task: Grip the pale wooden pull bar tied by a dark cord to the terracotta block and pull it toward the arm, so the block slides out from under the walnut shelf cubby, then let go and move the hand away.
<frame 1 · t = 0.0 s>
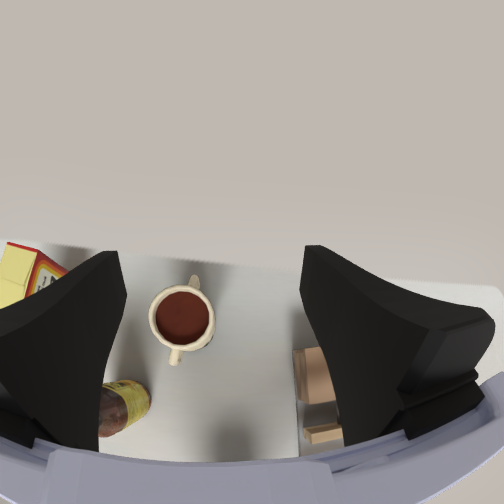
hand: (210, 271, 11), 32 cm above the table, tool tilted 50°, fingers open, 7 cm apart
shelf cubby: (328, 371, 40), on the table
pull block: (338, 395, 35), point 3 cm above the table, slide at 0.0 cm
sauce bottle: (132, 399, 36), on the table
baking soda box: (67, 307, 39), on the table
character mug: (193, 329, 41), on the table
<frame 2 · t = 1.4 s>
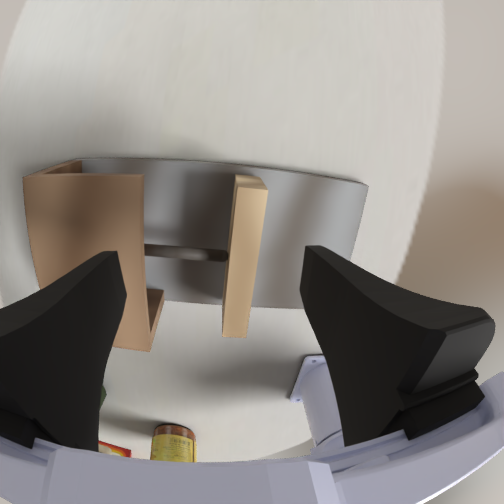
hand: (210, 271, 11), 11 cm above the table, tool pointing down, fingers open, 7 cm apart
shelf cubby: (123, 229, 20), on the table
pull block: (158, 251, 18), point 3 cm above the table, slide at 0.0 cm
sauce bottle: (176, 432, 33), on the table
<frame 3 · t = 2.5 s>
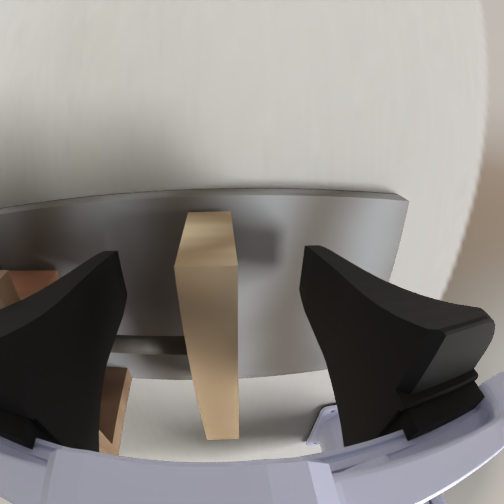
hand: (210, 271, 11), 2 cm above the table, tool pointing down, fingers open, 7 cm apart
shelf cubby: (59, 296, 13), on the table
pull block: (95, 343, 11), point 3 cm above the table, slide at 0.0 cm
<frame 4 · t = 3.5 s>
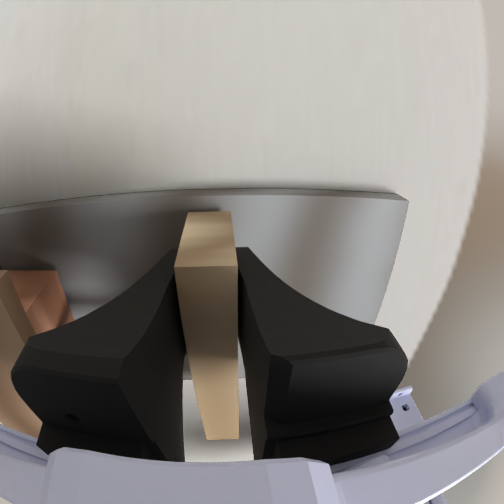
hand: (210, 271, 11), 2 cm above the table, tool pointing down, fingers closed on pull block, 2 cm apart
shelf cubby: (59, 296, 13), on the table
pull block: (95, 343, 11), point 3 cm above the table, slide at 0.0 cm, touching gripper
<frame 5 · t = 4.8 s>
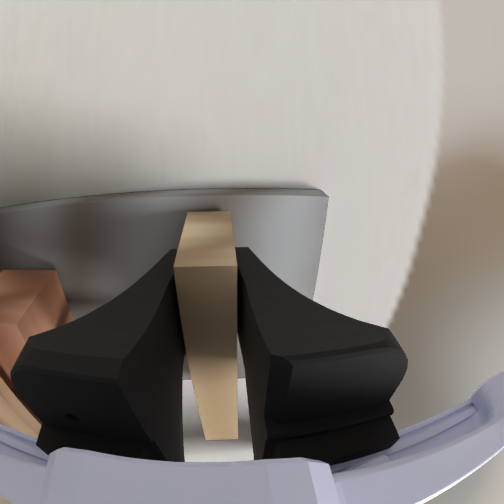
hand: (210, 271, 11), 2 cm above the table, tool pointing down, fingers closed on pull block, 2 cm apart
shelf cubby: (10, 293, 13), on the table
pull block: (94, 342, 11), point 3 cm above the table, slide at 4.2 cm, touching gripper
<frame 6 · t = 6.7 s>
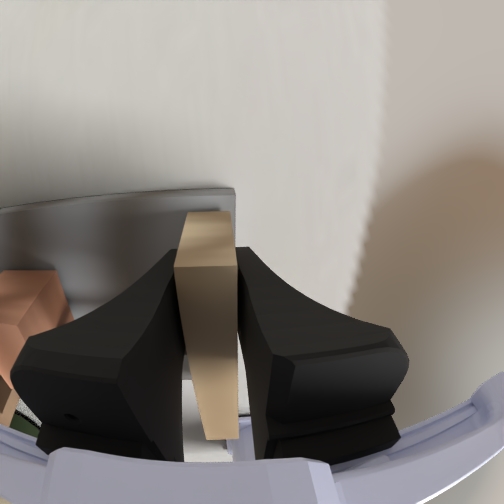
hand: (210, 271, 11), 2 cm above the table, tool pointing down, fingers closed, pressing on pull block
pull block: (94, 343, 11), point 3 cm above the table, slide at 8.0 cm, touching gripper
character mug: (27, 421, 21), on the table
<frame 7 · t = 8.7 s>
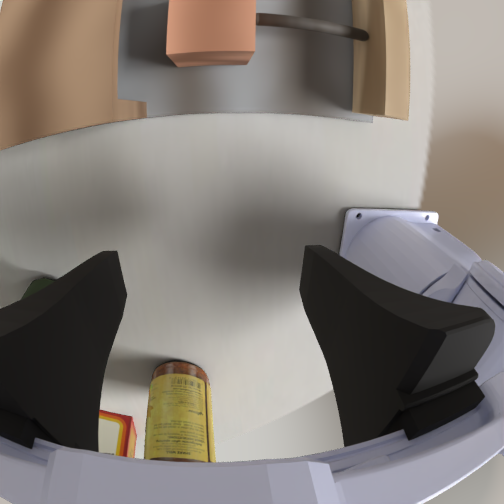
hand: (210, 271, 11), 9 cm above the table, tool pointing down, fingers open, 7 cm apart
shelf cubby: (101, 49, 13), on the table
pull block: (291, 21, 11), point 3 cm above the table, slide at 8.0 cm
sauce bottle: (182, 376, 27), on the table
baking soda box: (104, 419, 32), on the table
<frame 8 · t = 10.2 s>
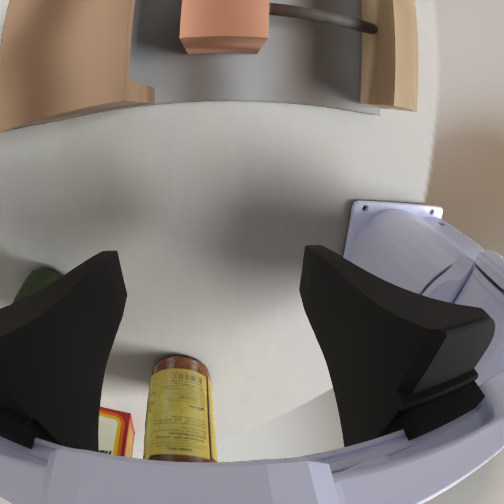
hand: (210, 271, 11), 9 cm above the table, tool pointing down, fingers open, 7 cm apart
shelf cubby: (110, 35, 12), on the table
pull block: (302, 12, 11), point 3 cm above the table, slide at 8.0 cm
sauce bottle: (183, 371, 27), on the table
baking soda box: (101, 415, 31), on the table
character mug: (56, 293, 21), on the table
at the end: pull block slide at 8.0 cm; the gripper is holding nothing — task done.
